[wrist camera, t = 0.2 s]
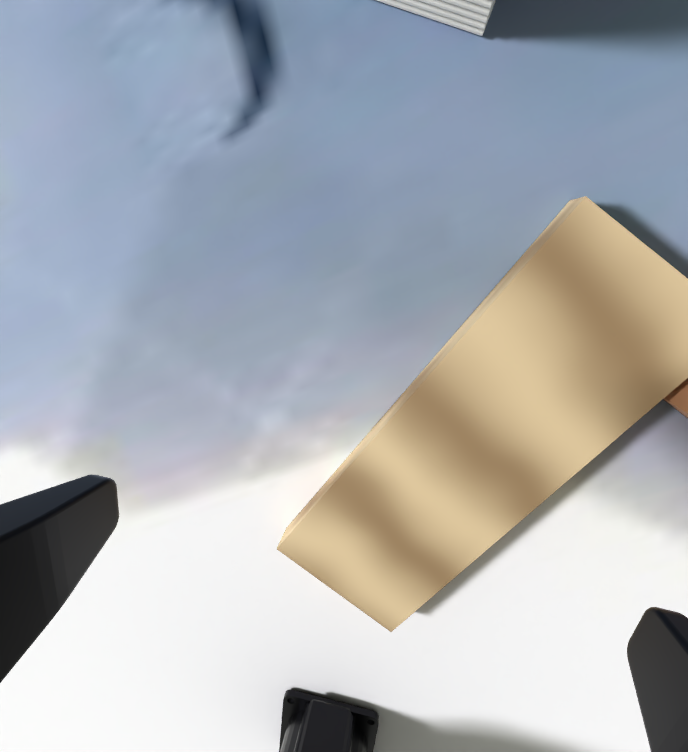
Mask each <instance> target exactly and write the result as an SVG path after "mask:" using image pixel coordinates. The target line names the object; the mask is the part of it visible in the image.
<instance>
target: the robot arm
mask: <svg viewBox="0 0 688 752" xmlns="http://www.w3.org/2000/svg"><path fill="white" fill-rule="evenodd" d="M118 518H119V509H118V498H117V486H116V483H115V481H114V480H112V479H111V478H107V477H103V476H98V475H87V476H84V477H81V478H78V479H75V480H72V481H69V482H66V483H63V484H60V485H57V486H54V487H51V488H48V489H45V490H43V491H40V492H37V493H34V494H31V495H28V496H25V497H22V498H19V499H16V500H13V501H10V502H7V503H4V504H1V505H0V683H1V681H2V680H3V679H4V678H5V676H6V675H7V674H8V673H9V672H10V670H11V669H12V668H13V667H14V665H15V664H16V663H17V662H18V661H19V659H20V658H21V657H22V656H23V654H24V653H25V652H26V651H27V649H28V648H29V647H30V646H31V645H32V643H33V642H34V641H35V640H36V638H37V637H38V636H39V635H40V633H41V632H42V631H43V630H44V629H45V627H46V626H47V625H48V624H49V622H50V621H51V620H52V619H53V617H54V616H55V615H56V613H57V612H58V611H59V610H60V608H61V607H62V605H63V604H64V603H65V601H66V600H67V598H68V597H69V596H70V594H71V593H72V591H73V590H74V588H75V587H76V585H77V584H78V582H79V581H80V580H81V578H82V577H83V575H84V574H85V572H86V571H87V569H88V568H89V566H90V565H91V563H92V562H93V560H94V559H95V557H96V556H97V554H98V553H99V552H100V550H101V549H102V547H103V546H104V544H105V543H106V541H107V540H108V538H109V537H110V535H111V534H112V532H113V531H114V529H115V527H116V525H117V522H118ZM627 656H628V662H629V666H630V670H631V674H632V677H633V681H634V685H635V689H636V693H637V697H638V701H639V705H640V709H641V713H642V717H643V721H644V725H645V729H646V733H647V737H648V741H649V745H650V749H651V752H688V618H687V617H685V616H684V615H682V614H680V613H678V612H674V611H670V610H666V609H662V608H657V607H651V608H649V609H647V610H646V611H645V613H644V614H643V616H642V618H641V620H640V622H639V624H638V625H637V627H636V629H635V631H634V633H633V634H632V636H631V638H630V640H629V643H628V647H627ZM378 722H379V715H378V714H377V713H376V712H374V711H372V710H368V709H364V708H360V707H356V706H353V705H349V704H345V703H341V702H337V701H333V700H330V699H326V698H322V697H318V696H314V695H310V694H307V693H303V692H299V691H295V690H287V691H286V693H285V696H284V700H283V712H282V724H281V737H280V749H279V752H373V749H374V744H375V739H376V734H377V728H378Z"/></svg>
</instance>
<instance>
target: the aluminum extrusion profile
mask: <svg viewBox="0 0 688 752" xmlns="http://www.w3.org/2000/svg"><path fill="white" fill-rule="evenodd" d="M376 1H379V2H382V3H385V4H388V5H391V6H394V7H397V8H400V9H403V10H406V11H409V12H412V13H415V14H418V15H421V16H424V17H427V18H430V19H433V20H436V21H439V22H442V23H445V24H448V25H451V26H453V27H456V28H459V29H462V30H465V31H468V32H471V33H474V34H477V35H480V36H483V33H484V30H485V28H486V25H487V22H488V20H489V17H490V15H491V12H492V9H493V7H494V4H495V1H496V0H376Z"/></svg>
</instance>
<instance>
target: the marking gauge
mask: <svg viewBox="0 0 688 752" xmlns="http://www.w3.org/2000/svg"><path fill="white" fill-rule="evenodd" d="M664 400H665V401H666V402H667V403H669V404H670V405H671V406H672V407H674V408H675V409H676V410H678V411H679V412H680V413H681V414H683V415H684V416H685V417H686V418H688V378H687V379H686V380H685V381H683V382H682V383H681V384H680V385H679V386H678V387H676V388H675V389H674V390H673V391H672V392H671V393H669V394H668V395H667V396H666V397H665V398H664Z"/></svg>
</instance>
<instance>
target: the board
mask: <svg viewBox="0 0 688 752" xmlns="http://www.w3.org/2000/svg"><path fill="white" fill-rule="evenodd" d="M687 378H688V279H687V278H686V277H685V276H684V275H682V274H681V273H680V272H679V271H678V270H676V269H675V268H674V267H673V266H671V265H670V264H669V263H668V262H666V261H665V260H664V259H663V258H661V257H660V256H659V255H658V254H656V253H655V252H654V251H653V250H652V249H650V248H649V247H648V246H647V245H645V244H644V243H643V242H642V241H640V240H639V239H638V238H637V237H635V236H634V235H633V234H632V233H631V232H629V231H628V230H627V229H626V228H624V227H623V226H622V225H621V224H619V223H618V222H617V221H616V220H614V219H613V218H612V217H611V216H609V215H608V214H607V213H606V212H605V211H603V210H602V209H601V208H600V207H598V206H597V205H596V204H595V203H593V202H592V201H591V200H590V199H588V198H587V197H586V196H585V197H581V198H578V199H574V200H570V201H569V202H568V203H567V204H566V206H565V207H564V208H563V209H562V210H561V211H560V213H559V214H558V215H557V216H556V217H555V218H554V219H553V221H552V222H551V223H550V224H549V225H548V226H547V228H546V229H545V230H544V231H543V232H542V233H541V234H540V236H539V237H538V238H537V239H536V240H535V241H534V243H533V244H532V245H531V246H530V247H529V248H528V249H527V251H526V252H525V253H524V254H523V255H522V256H521V258H520V259H519V260H518V261H517V262H516V263H515V265H514V266H513V267H512V268H511V269H510V270H509V271H508V273H507V274H506V275H505V276H504V277H503V278H502V280H501V281H500V282H499V283H498V284H497V285H496V286H495V288H494V289H493V290H492V291H491V292H490V293H489V295H488V296H487V297H486V298H485V299H484V300H483V301H482V303H481V304H480V305H479V306H478V307H477V308H476V310H475V311H474V312H473V313H472V314H471V315H470V316H469V318H468V319H467V320H466V321H465V322H464V323H463V325H462V326H461V327H460V328H459V329H458V330H457V332H456V333H455V334H454V335H453V336H452V337H451V338H450V340H449V341H448V342H447V343H446V344H445V345H444V347H443V348H442V349H441V350H440V351H439V352H438V353H437V355H436V356H435V357H434V358H433V359H432V360H431V362H430V363H429V364H428V365H427V366H426V367H425V368H424V370H423V371H422V372H421V373H420V374H419V375H418V377H417V378H416V379H415V380H414V381H413V382H412V384H411V385H410V386H409V387H408V388H407V389H406V390H405V392H404V393H403V394H402V395H401V396H400V397H399V399H398V400H397V401H396V402H395V403H394V404H393V405H392V407H391V408H390V409H389V410H388V411H387V412H386V414H385V415H384V416H383V417H382V418H381V419H380V420H379V422H378V423H377V424H376V425H375V426H374V427H373V429H372V430H371V431H370V432H369V433H368V434H367V435H366V437H365V438H364V439H363V440H362V441H361V442H360V444H359V445H358V446H357V447H356V448H355V449H354V451H353V452H352V453H351V454H350V455H349V456H348V457H347V459H346V460H345V461H344V462H343V463H342V464H341V466H340V467H339V468H338V469H337V470H336V471H335V472H334V474H333V475H332V476H331V477H330V478H329V479H328V481H327V482H326V483H325V484H324V485H323V486H322V487H321V489H320V490H319V491H318V492H317V493H316V494H315V496H314V497H313V498H312V499H311V500H310V501H309V503H308V504H307V505H306V506H305V507H304V508H303V509H302V511H301V512H300V513H299V514H298V515H297V516H296V518H295V519H294V520H293V521H292V522H291V523H290V524H289V526H288V527H287V528H286V530H285V532H284V534H283V536H282V538H281V541H280V543H279V545H278V547H277V550H279V551H280V552H281V553H283V554H284V555H286V556H287V557H288V558H290V559H291V560H293V561H294V562H295V563H297V564H298V565H299V566H301V567H302V568H304V569H305V570H306V571H308V572H309V573H310V574H312V575H313V576H315V577H316V578H317V579H319V580H320V581H321V582H323V583H324V584H326V585H327V586H328V587H330V588H331V589H332V590H334V591H335V592H337V593H338V594H339V595H341V596H342V597H343V598H345V599H346V600H348V601H349V602H350V603H352V604H353V605H355V606H356V607H357V608H359V609H360V610H361V611H363V612H364V613H366V614H367V615H368V616H370V617H371V618H372V619H374V620H375V621H377V622H378V623H379V624H381V625H382V626H383V627H385V628H386V629H388V630H389V631H390V632H392V631H393V630H394V629H395V628H396V627H398V626H399V625H400V624H401V623H402V622H403V621H405V620H406V619H407V618H408V617H409V616H410V615H412V614H413V613H414V612H415V611H416V610H417V609H419V608H420V607H421V606H422V605H423V604H424V603H426V602H427V601H428V600H429V599H430V598H431V597H433V596H434V595H435V594H436V593H437V592H438V591H440V590H441V589H442V588H443V587H444V586H445V585H447V584H448V583H449V582H450V581H451V580H452V579H454V578H455V577H456V576H457V575H458V574H459V573H461V572H462V571H463V570H464V569H465V568H466V567H468V566H469V565H470V564H471V563H472V562H473V561H475V560H476V559H477V558H478V557H479V556H480V555H482V554H483V553H484V552H485V551H486V550H487V549H489V548H490V547H491V546H492V545H493V544H494V543H496V542H497V541H498V540H499V539H500V538H501V537H503V536H504V535H505V534H506V533H507V532H508V531H510V530H511V529H512V528H513V527H514V526H515V525H517V524H518V523H519V522H520V521H521V520H522V519H524V518H525V517H526V516H527V515H528V514H529V513H531V512H532V511H533V510H534V509H535V508H536V507H538V506H539V505H540V504H541V503H542V502H543V501H545V500H546V499H547V498H548V497H549V496H550V495H552V494H553V493H554V492H555V491H556V490H557V489H559V488H560V487H561V486H562V485H563V484H564V483H566V482H567V481H568V480H569V479H570V478H571V477H573V476H574V475H575V474H576V473H577V472H578V471H580V470H581V469H582V468H583V467H584V466H585V465H587V464H588V463H589V462H590V461H591V460H592V459H594V458H595V457H596V456H597V455H598V454H599V453H601V452H602V451H603V450H604V449H605V448H606V447H608V446H609V445H610V444H611V443H612V442H613V441H615V440H616V439H617V438H618V437H619V436H620V435H622V434H623V433H624V432H625V431H626V430H627V429H629V428H630V427H631V426H632V425H633V424H634V423H636V422H637V421H638V420H639V419H640V418H641V417H643V416H644V415H645V414H646V413H647V412H648V411H650V410H651V409H652V408H653V407H654V406H655V405H657V404H658V403H659V402H660V401H661V400H662V399H664V398H665V397H666V396H667V395H668V394H669V393H671V392H672V391H673V390H674V389H675V388H676V387H678V386H679V385H680V384H681V383H682V382H683V381H685V380H686V379H687Z"/></svg>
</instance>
